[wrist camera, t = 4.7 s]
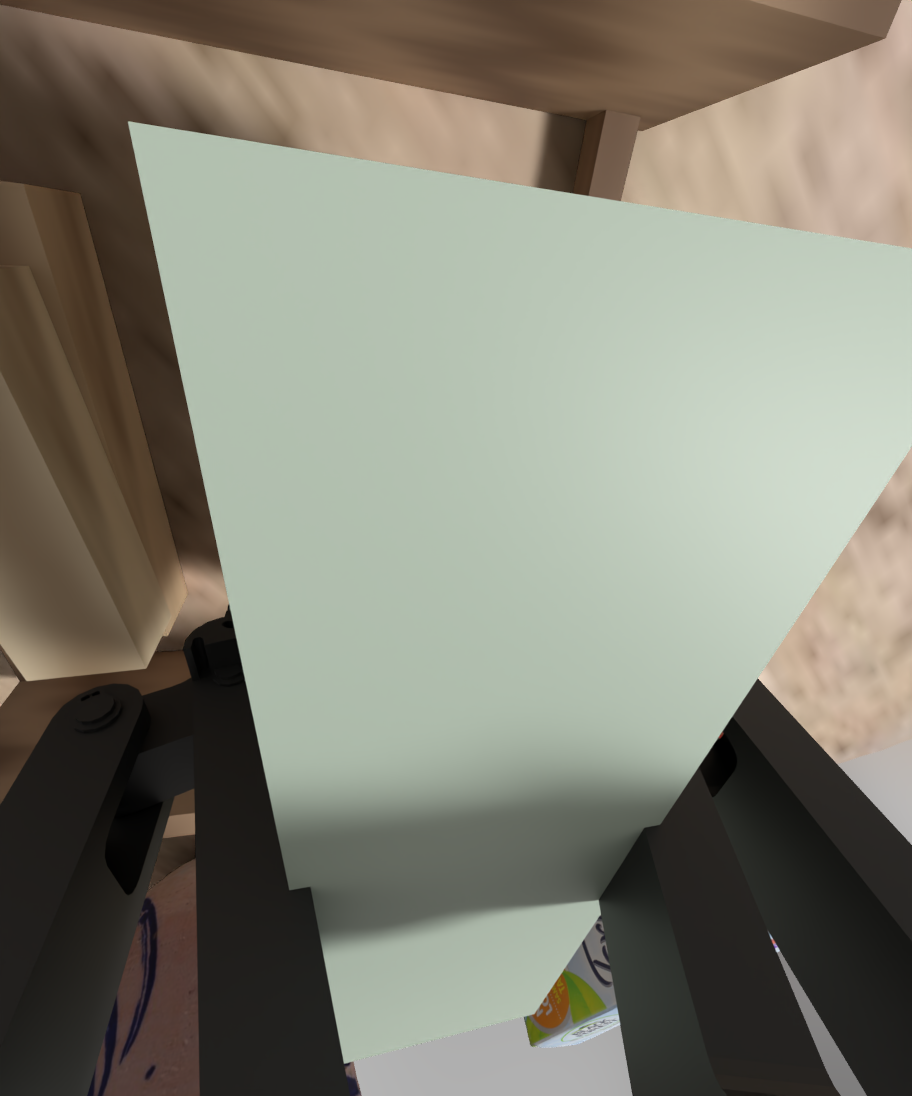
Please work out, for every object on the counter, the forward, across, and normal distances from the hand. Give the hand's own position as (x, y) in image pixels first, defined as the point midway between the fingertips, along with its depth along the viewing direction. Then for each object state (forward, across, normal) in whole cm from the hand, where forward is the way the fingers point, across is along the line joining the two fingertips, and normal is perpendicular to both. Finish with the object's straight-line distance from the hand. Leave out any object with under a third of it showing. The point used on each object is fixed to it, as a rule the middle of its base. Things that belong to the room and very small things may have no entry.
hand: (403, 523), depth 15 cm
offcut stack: (+7, -12, 0) cm, 14 cm away
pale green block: (+3, 0, 0) cm, 3 cm away
